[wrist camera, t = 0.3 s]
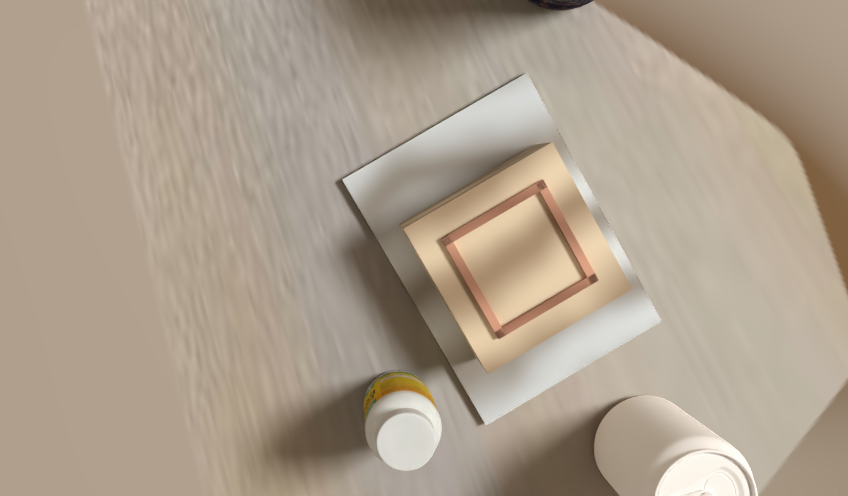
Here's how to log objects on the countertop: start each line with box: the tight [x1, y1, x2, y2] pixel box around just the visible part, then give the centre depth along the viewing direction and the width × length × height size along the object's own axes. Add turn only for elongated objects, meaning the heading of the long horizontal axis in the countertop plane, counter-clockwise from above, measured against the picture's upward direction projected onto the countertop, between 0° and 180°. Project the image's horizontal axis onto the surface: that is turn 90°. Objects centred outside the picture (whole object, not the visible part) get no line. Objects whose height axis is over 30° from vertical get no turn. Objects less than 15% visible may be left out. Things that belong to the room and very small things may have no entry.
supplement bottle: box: [364, 370, 442, 471], centre depth 58 cm, size 5×5×10 cm
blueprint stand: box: [342, 73, 661, 425], centre depth 60 cm, size 22×16×6 cm
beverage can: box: [594, 395, 757, 496], centre depth 59 cm, size 8×8×12 cm
